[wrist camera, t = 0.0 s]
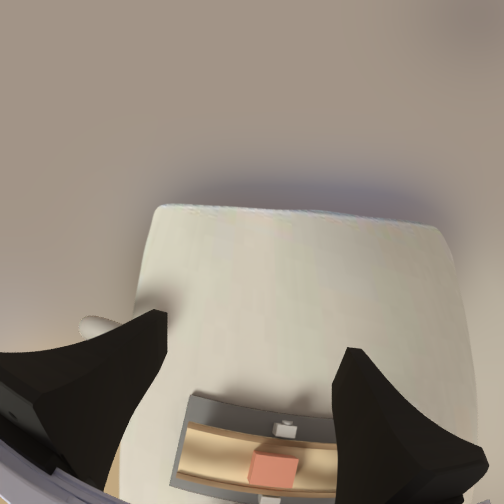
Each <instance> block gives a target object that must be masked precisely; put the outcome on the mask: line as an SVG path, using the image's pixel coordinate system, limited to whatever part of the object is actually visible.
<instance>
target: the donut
mask: <svg viewBox="0 0 504 504" xmlns="http://www.w3.org/2000/svg"><path fill="white" fill-rule="evenodd" d="M121 325H122V324H120V323H118V322H115V321H112V320H109V319H106V318H102V317H98V316H87V317H84V318H83V319H82V320H81V321H80V323H79V332H80V334H81V336H82V337H83V338H84V339H86V340H88V339H91V338H94V337H96V336H99V335H101V334H103V333H106V332H108V331H110V330H113V329H115V328H117V327H119V326H121Z"/></svg>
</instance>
